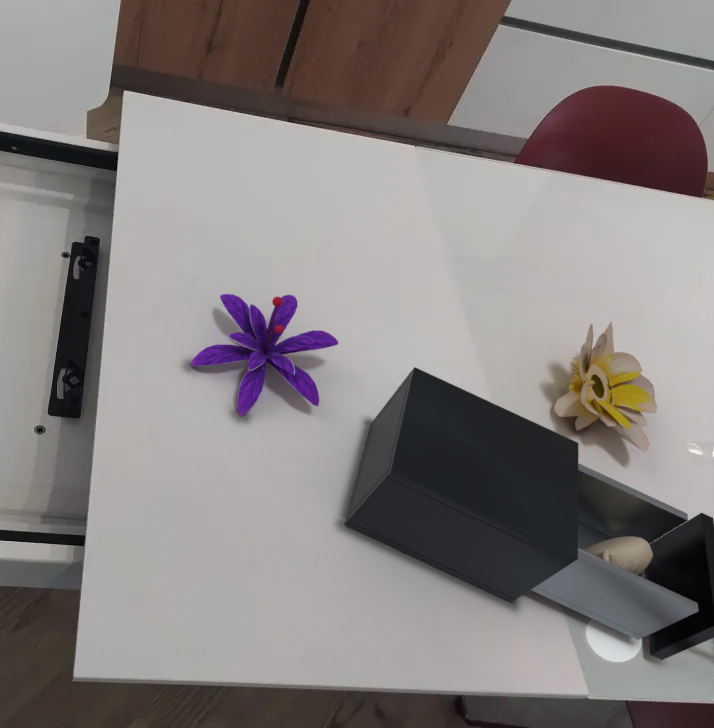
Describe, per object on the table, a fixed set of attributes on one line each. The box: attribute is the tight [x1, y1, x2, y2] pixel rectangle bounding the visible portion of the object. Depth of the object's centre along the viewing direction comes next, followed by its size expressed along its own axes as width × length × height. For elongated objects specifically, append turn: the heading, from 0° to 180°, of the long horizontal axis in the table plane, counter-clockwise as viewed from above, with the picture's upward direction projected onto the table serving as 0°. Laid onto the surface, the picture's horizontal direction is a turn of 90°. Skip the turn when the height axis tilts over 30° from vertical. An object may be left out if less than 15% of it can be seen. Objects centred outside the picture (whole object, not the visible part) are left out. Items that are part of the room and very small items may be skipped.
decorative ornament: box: [583, 536, 653, 575], centre depth 67 cm, size 4×8×5 cm, turn 112°
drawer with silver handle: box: [530, 462, 714, 661], centre depth 67 cm, size 23×11×8 cm, turn 71°
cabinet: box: [344, 366, 579, 603], centre depth 67 cm, size 17×13×10 cm
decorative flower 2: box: [553, 320, 658, 453], centre depth 82 cm, size 15×11×10 cm
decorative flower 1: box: [190, 293, 339, 417], centre depth 72 cm, size 14×15×7 cm
